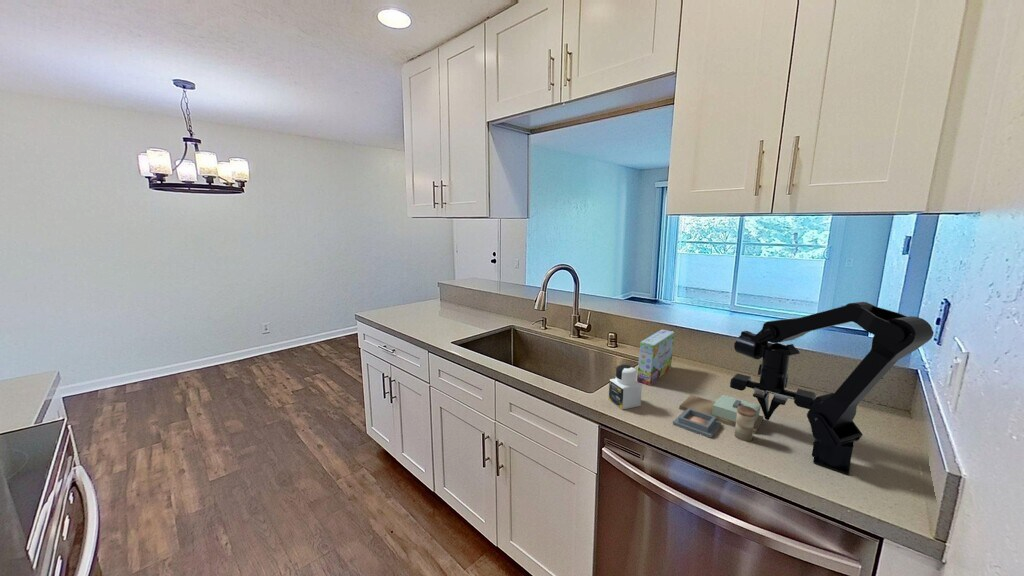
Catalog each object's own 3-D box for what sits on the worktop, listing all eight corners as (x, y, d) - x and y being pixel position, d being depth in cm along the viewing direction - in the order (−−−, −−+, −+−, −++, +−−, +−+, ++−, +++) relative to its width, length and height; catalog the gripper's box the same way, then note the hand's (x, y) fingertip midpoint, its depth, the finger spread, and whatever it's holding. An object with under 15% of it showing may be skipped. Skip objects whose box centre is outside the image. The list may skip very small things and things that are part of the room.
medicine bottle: (608, 399, 122) (609, 364, 119) (626, 396, 124) (628, 361, 122) (621, 410, 115) (624, 372, 113) (641, 406, 117) (643, 369, 115)
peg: (753, 436, 101) (757, 409, 99) (750, 443, 98) (753, 414, 96) (736, 431, 104) (739, 403, 102) (732, 437, 101) (735, 409, 99)
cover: (759, 415, 110) (760, 403, 109) (751, 427, 103) (753, 414, 102) (721, 403, 116) (722, 392, 116) (712, 414, 110) (713, 402, 109)
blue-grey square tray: (721, 425, 107) (721, 417, 106) (711, 438, 100) (712, 430, 100) (684, 412, 113) (684, 405, 113) (672, 424, 107) (673, 417, 106)
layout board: (763, 419, 109) (763, 415, 109) (755, 433, 102) (755, 429, 102) (690, 397, 123) (691, 394, 123) (679, 408, 116) (679, 405, 116)
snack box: (651, 386, 131) (654, 344, 128) (636, 382, 135) (638, 341, 132) (672, 368, 147) (675, 331, 144) (657, 364, 151) (660, 328, 148)
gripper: (822, 366, 101) (813, 420, 104) (742, 349, 113) (736, 398, 116) (817, 379, 93) (808, 437, 96) (732, 359, 106) (726, 411, 108)
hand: (767, 419), depth 104 cm, fingers closed
